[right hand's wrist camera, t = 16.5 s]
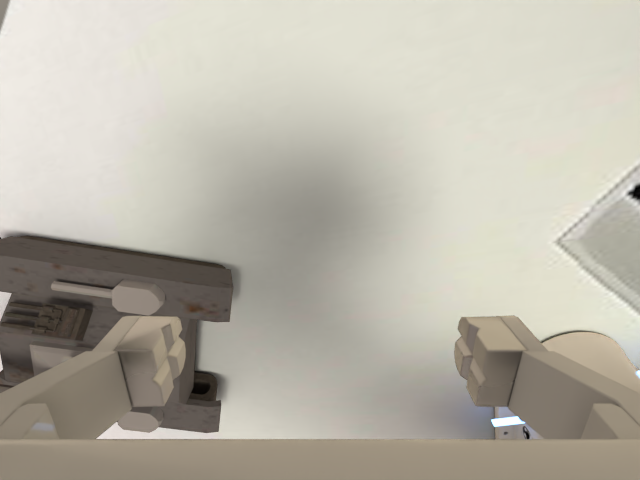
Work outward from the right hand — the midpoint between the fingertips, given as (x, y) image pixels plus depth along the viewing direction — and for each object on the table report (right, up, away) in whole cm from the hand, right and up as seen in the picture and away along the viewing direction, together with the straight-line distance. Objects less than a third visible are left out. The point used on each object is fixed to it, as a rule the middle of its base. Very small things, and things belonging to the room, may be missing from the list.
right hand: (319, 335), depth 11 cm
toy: (-23, -7, +33) cm, 41 cm away
